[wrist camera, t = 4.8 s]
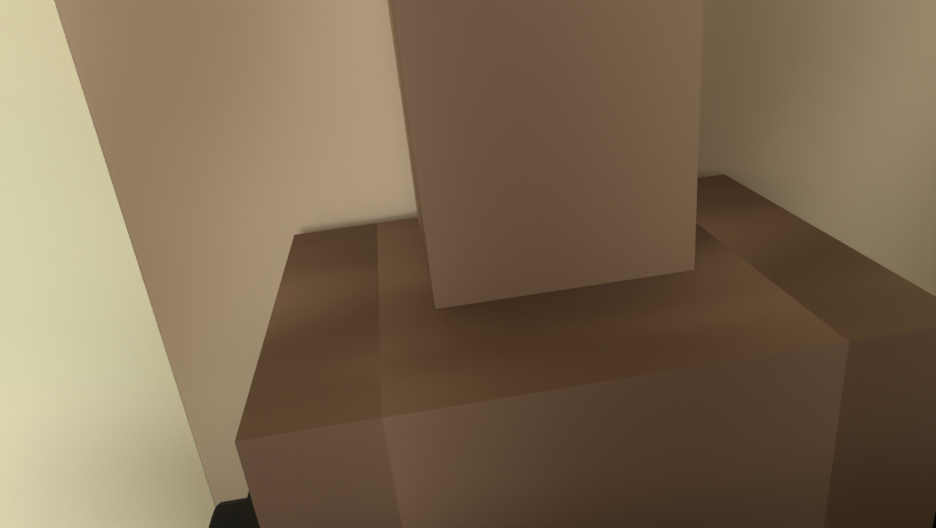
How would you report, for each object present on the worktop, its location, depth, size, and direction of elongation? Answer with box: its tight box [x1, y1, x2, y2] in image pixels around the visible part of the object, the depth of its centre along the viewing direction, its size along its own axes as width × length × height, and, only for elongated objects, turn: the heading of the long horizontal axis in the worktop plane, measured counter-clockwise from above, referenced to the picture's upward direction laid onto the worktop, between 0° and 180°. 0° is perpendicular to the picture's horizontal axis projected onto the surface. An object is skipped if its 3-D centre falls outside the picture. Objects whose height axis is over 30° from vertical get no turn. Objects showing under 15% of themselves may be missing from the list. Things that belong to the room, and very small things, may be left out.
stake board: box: [54, 0, 936, 506], centre depth 8 cm, size 13×13×6 cm
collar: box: [235, 0, 936, 528], centre depth 8 cm, size 5×10×4 cm, turn 6°
